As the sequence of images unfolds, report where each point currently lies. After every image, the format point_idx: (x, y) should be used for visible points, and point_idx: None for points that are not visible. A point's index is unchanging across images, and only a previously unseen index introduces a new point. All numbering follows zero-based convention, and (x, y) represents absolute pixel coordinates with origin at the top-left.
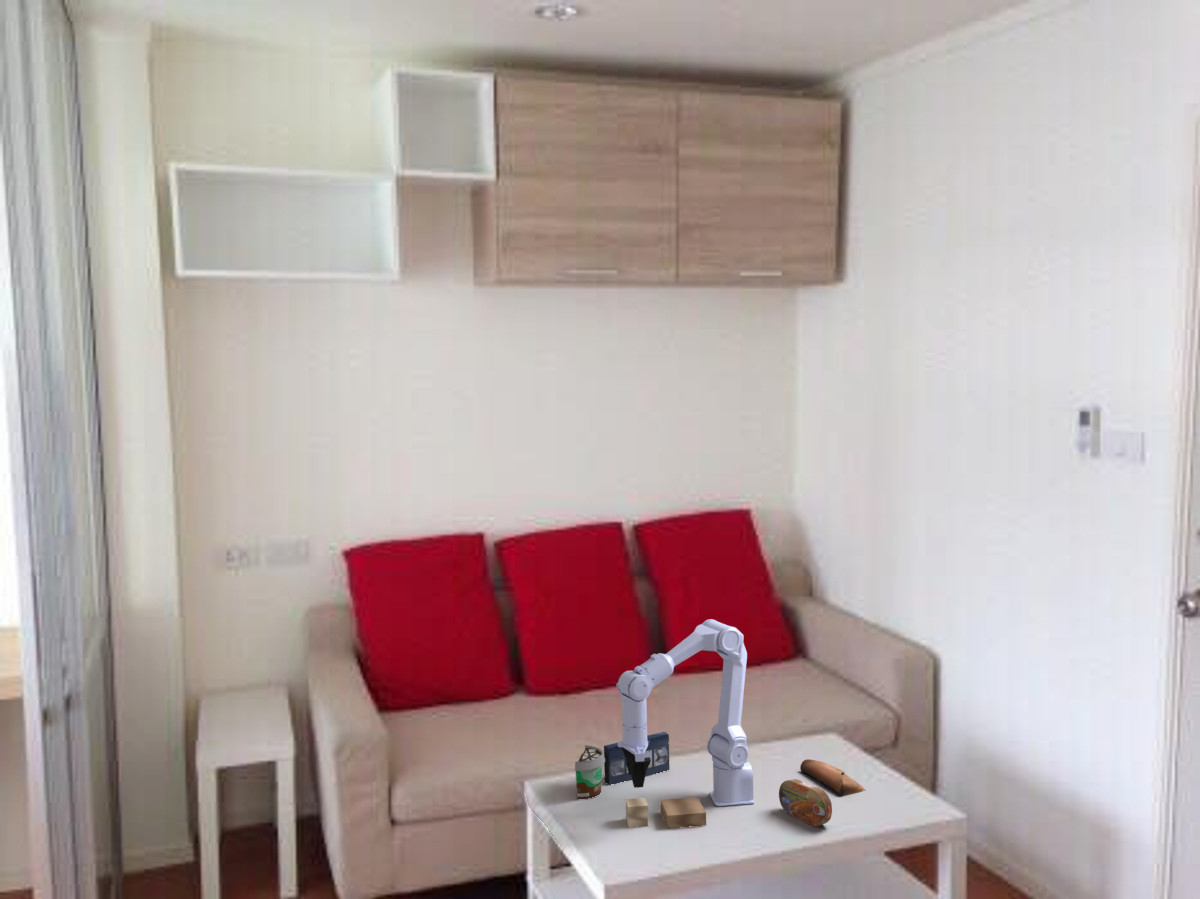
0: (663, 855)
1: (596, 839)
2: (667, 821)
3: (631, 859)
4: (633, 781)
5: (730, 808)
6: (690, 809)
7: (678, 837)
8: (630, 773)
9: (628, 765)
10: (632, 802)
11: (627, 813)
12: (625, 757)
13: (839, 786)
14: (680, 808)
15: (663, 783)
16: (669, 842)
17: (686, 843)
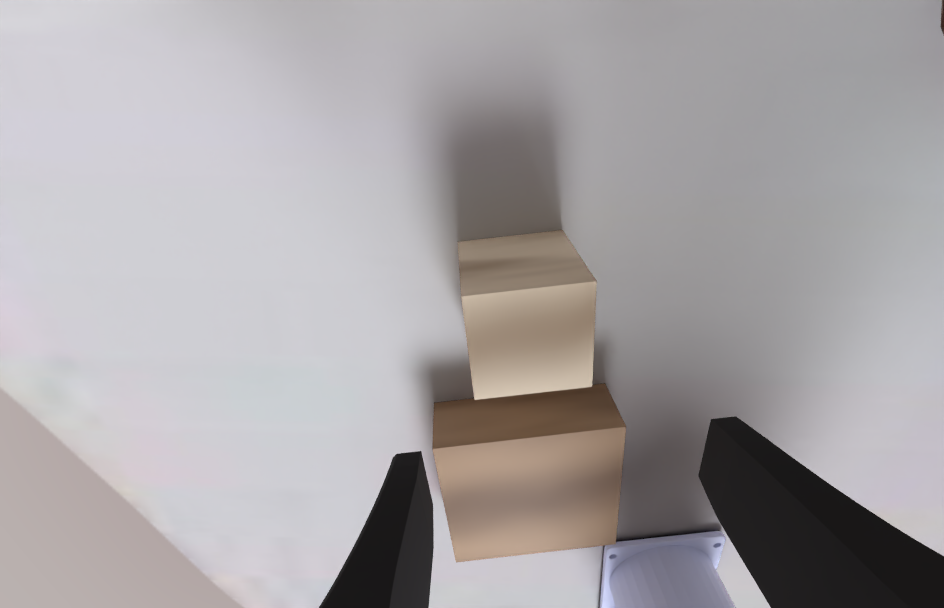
0: (163, 379)
1: (290, 34)
2: (441, 424)
3: (71, 244)
4: (376, 507)
5: (584, 568)
6: (492, 522)
7: (350, 433)
8: (716, 437)
9: (778, 495)
10: (531, 322)
11: (502, 263)
12: (879, 580)
13: None
14: (508, 493)
15: (904, 401)
16: (299, 403)
17: (297, 455)
